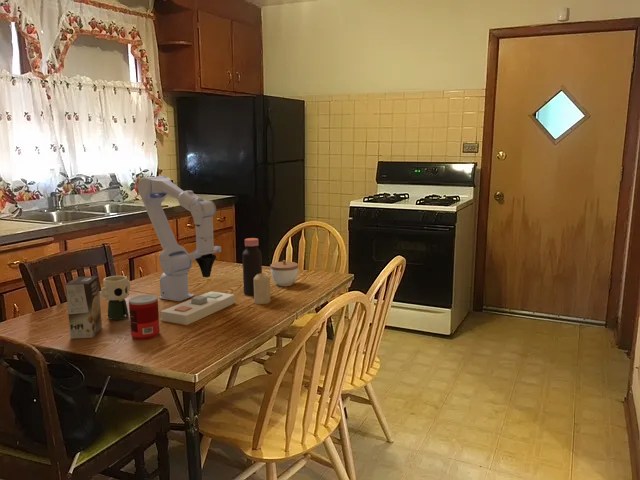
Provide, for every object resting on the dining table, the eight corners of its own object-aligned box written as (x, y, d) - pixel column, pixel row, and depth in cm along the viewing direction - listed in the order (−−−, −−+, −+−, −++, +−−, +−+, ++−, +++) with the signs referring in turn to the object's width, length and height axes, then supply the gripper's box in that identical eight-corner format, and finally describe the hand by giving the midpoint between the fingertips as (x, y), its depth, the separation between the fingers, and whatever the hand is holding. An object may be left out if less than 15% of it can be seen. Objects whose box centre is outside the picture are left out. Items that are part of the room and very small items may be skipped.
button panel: (161, 320, 173) (160, 311, 173) (211, 299, 195) (210, 291, 195) (186, 325, 169) (186, 315, 168) (234, 303, 191) (234, 294, 190)
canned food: (165, 332, 163) (163, 295, 161) (148, 341, 156) (145, 303, 153) (143, 329, 165) (140, 293, 163) (125, 338, 158) (122, 301, 156)
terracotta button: (175, 317, 174) (174, 308, 174) (182, 314, 177) (182, 305, 177) (184, 319, 172) (183, 310, 172) (191, 315, 176) (191, 307, 175)
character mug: (112, 325, 169) (108, 283, 167) (96, 321, 173) (92, 280, 171) (139, 315, 179) (136, 275, 176) (124, 311, 182) (121, 273, 180)
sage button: (207, 303, 188) (206, 295, 188) (213, 301, 191) (213, 293, 191) (215, 305, 187) (215, 297, 186) (222, 302, 190) (221, 294, 189)
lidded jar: (304, 282, 217) (303, 259, 215) (287, 289, 208) (287, 264, 206) (281, 279, 222) (281, 256, 221) (265, 285, 213) (264, 261, 212)
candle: (267, 304, 188) (267, 276, 187) (252, 304, 190) (251, 275, 188) (272, 300, 194) (271, 272, 192) (257, 299, 195) (256, 271, 193)
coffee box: (93, 338, 158) (88, 283, 155) (69, 339, 158) (64, 284, 155) (102, 327, 167) (98, 275, 164) (80, 328, 167) (76, 276, 164)
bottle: (240, 294, 201) (238, 240, 197) (249, 290, 207) (247, 237, 203) (256, 296, 198) (255, 241, 195) (265, 291, 204) (264, 238, 201)
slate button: (191, 306, 181) (191, 298, 180) (198, 303, 184) (198, 295, 184) (200, 308, 179) (200, 299, 179) (207, 305, 182) (207, 296, 182)
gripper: (199, 241, 177) (201, 283, 180) (227, 234, 190) (229, 273, 192) (182, 239, 180) (184, 280, 183) (211, 232, 193) (212, 271, 195)
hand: (206, 276), depth 188 cm, fingers closed
